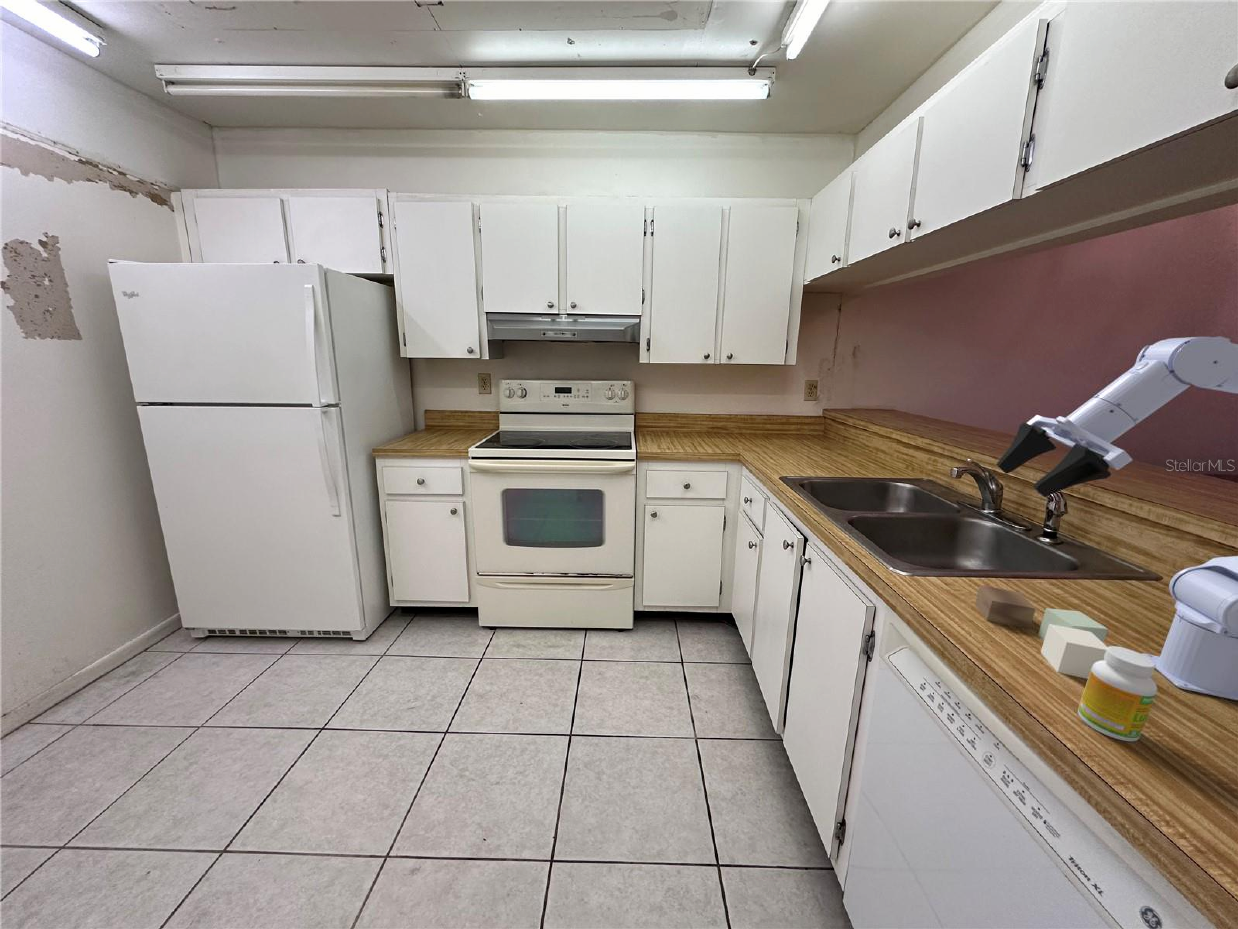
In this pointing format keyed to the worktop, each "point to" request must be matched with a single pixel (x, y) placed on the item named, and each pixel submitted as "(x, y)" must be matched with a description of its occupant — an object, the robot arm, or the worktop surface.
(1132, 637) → the worktop surface
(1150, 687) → the supplement bottle
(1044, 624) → the sage cube
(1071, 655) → the cream cube
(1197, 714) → the worktop surface
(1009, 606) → the walnut block
